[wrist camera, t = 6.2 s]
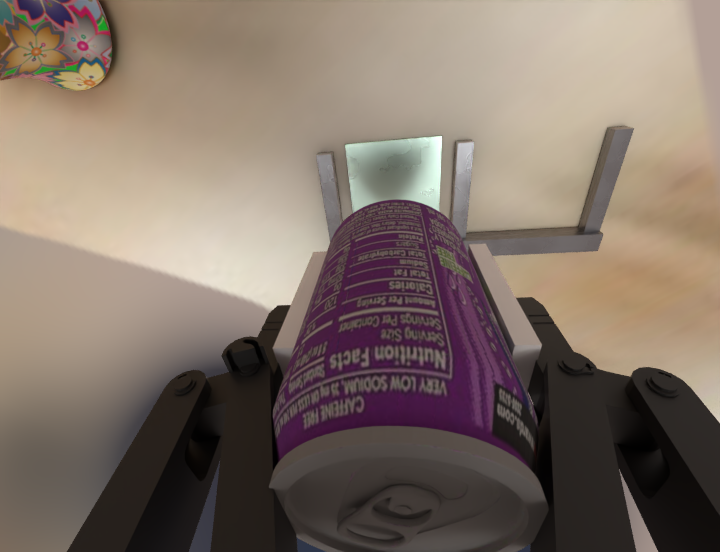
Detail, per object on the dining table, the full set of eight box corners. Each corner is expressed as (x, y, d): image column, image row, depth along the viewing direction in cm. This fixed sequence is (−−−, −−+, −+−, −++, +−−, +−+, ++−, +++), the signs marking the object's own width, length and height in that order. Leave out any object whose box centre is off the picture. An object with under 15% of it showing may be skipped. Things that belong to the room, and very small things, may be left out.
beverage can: (415, 325, 20) (442, 592, 10) (310, 278, 18) (213, 529, 8) (491, 234, 16) (662, 509, 6) (366, 167, 15) (316, 373, 5)
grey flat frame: (317, 146, 26) (313, 150, 25) (627, 118, 23) (642, 121, 22) (334, 254, 31) (332, 262, 30) (587, 242, 29) (597, 251, 27)
